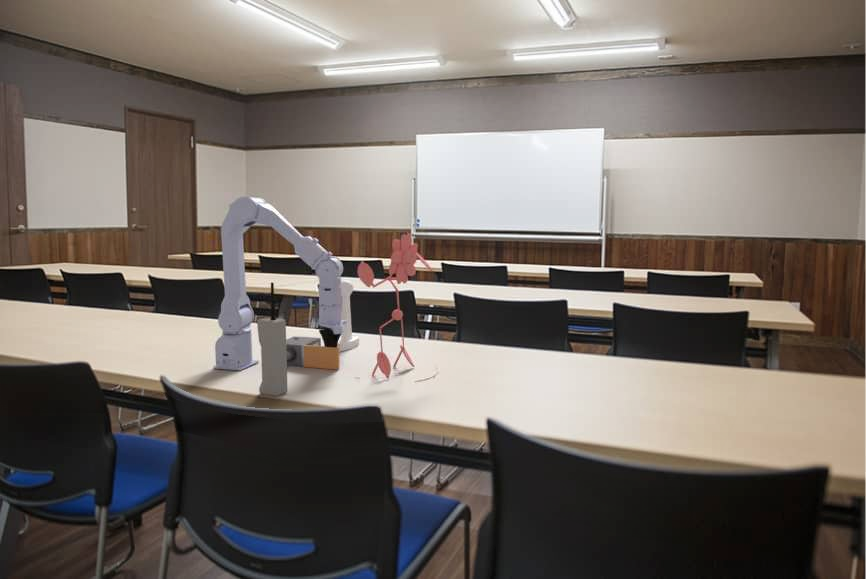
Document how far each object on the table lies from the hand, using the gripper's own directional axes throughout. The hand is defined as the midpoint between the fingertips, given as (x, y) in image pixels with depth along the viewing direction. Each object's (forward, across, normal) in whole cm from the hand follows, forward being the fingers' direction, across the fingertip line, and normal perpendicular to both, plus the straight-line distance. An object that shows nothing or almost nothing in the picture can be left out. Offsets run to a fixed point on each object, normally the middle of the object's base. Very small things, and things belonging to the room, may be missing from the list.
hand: (330, 356), depth 167 cm
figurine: (+3, -14, -15) cm, 21 cm away
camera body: (+3, +10, +6) cm, 12 cm away
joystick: (+3, +22, -9) cm, 24 cm away
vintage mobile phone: (+3, -18, +18) cm, 26 cm away
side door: (+3, 0, +3) cm, 4 cm away
